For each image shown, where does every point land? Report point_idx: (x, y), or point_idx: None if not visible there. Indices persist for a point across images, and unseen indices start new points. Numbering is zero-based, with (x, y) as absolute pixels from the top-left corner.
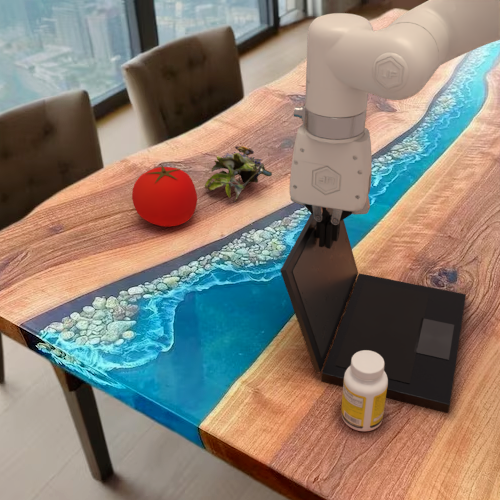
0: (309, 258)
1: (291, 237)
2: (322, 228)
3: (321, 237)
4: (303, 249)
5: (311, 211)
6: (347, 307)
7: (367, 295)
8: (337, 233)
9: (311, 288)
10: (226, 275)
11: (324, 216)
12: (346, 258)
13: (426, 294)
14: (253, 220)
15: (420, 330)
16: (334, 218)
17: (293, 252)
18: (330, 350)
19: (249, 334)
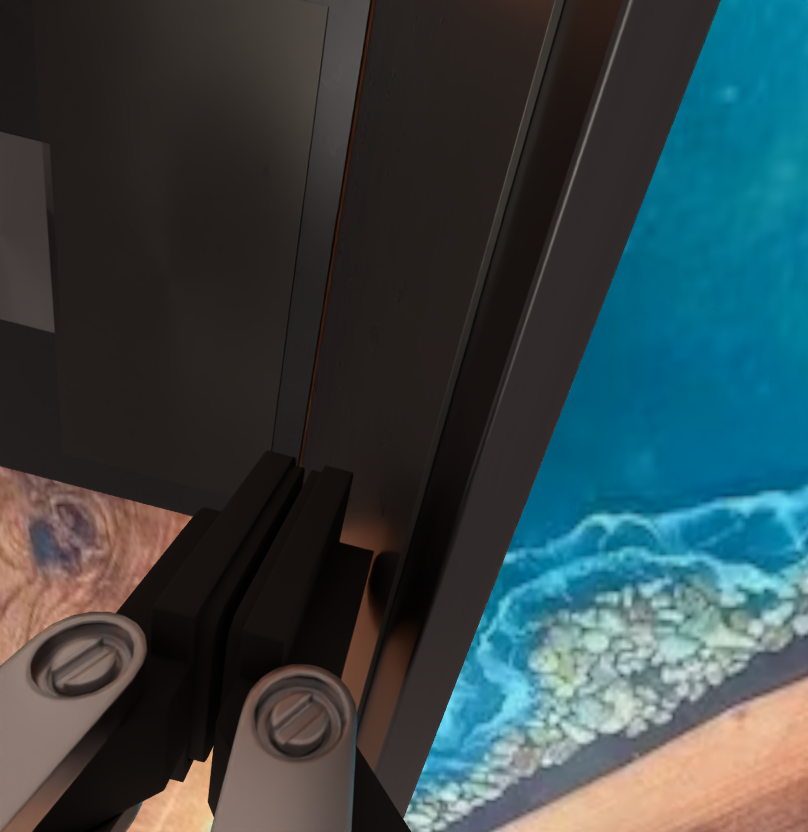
0: (420, 310)
1: (510, 700)
2: (275, 588)
3: (312, 518)
4: (477, 297)
5: (381, 825)
6: (309, 372)
7: (248, 436)
8: (169, 557)
9: (410, 139)
10: (745, 538)
11: (223, 737)
12: None
13: (70, 449)
14: (629, 769)
15: (51, 268)
16: (81, 696)
17: (648, 24)
18: (352, 110)
19: (679, 224)
